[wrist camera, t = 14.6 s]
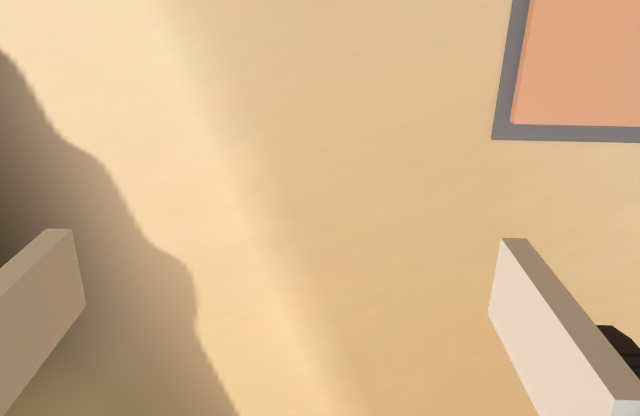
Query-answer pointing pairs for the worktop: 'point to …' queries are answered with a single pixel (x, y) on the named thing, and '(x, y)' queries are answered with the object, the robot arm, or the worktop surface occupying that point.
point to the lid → (579, 64)
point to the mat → (532, 131)
